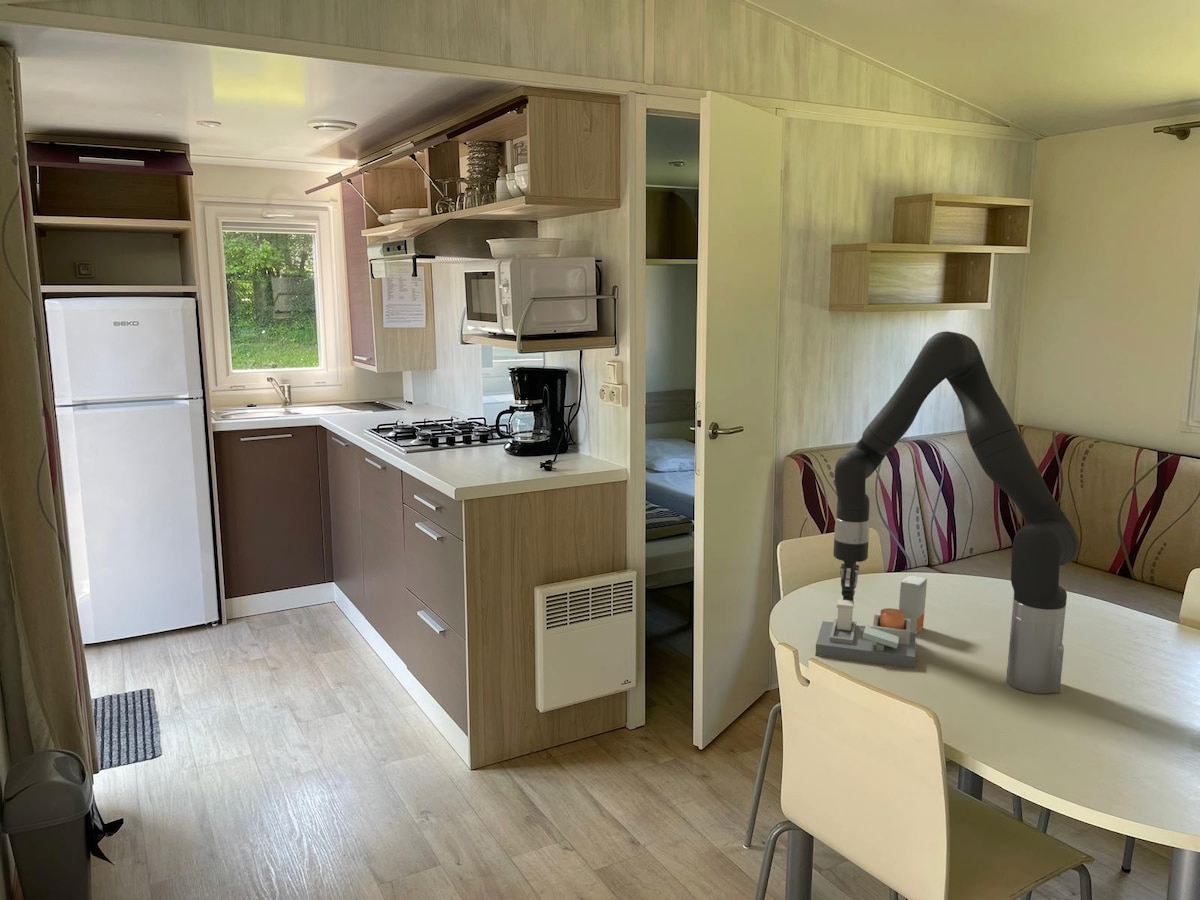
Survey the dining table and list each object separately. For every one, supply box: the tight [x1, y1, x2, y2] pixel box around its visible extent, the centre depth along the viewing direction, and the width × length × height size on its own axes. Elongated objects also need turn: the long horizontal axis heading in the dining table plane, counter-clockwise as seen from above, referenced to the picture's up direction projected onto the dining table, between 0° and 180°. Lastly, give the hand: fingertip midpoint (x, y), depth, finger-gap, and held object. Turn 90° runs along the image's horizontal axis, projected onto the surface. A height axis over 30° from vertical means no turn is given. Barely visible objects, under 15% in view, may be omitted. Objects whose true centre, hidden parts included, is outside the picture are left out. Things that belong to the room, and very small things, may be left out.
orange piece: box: [880, 607, 905, 629], centre depth 194 cm, size 5×5×5 cm
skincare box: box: [898, 575, 928, 634], centre depth 204 cm, size 6×4×12 cm
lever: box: [836, 598, 855, 631], centre depth 198 cm, size 3×3×6 cm
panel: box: [815, 614, 917, 669], centre depth 194 cm, size 20×14×6 cm
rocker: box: [863, 625, 899, 649], centre depth 189 cm, size 7×4×1 cm, turn 71°
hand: (847, 610), depth 204 cm, fingers closed
